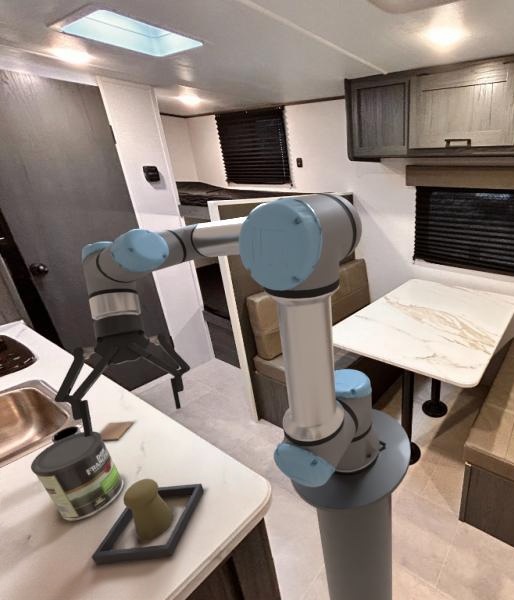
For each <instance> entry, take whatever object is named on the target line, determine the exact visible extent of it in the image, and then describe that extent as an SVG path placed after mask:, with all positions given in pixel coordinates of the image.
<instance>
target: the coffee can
mask: <svg viewBox="0 0 514 600" xmlns="http://www.w3.org/2000/svg"><path fill="white" fill-rule="evenodd" d="M100 433H101V432H100ZM100 433H99V432H98V431H95V430H93V435H91V436H87V437H85V435H84V431H81V433H77V434H74V435H71V436H68V437H66V438H64V439H62V440H59V441H57V442H56V443H52V444H51V445H49V446H48V447H46V448H44V449H43V450H42V451H41V452H39V454H37V455H36V457H34V459H33V460H32V462H31V464H30V470H31V472H32V473H33V474H35V475H36V477H37V478H38V480H39V483H41V485H42V487H43V488H44V490H45V491H46V493H47V494H48V496H49V497H50V499H51V500H52V502H53V504H54V505H55V507H56V508H57V510H58V511H59V513H60V514H61V517H62V519H63V520H65V521H81V520H84V519H86V518H89V517H91V516H93V515H95V514H97V513H99V512H101V511H102V510H104V509H105V508H106V507H108V506H109V505H110V504H111V503H112V502H114V501H115V500H116V499H117V498H118V496H119V495H120V494H121V492H122V490H123V487H124V480H123V478H122V477H121V475H120V473H119V470H118V468H117V466H116V465H115V462H114V461H113V458H112V457H111V454H110V452H109V450H108V448H107V446H106V444H105V441H103V438H102V436H101V434H100Z"/></svg>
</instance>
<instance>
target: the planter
mask: <svg viewBox="0 0 514 600" xmlns="http://www.w3.org/2000/svg"><path fill="white" fill-rule="evenodd" d="M81 432H82V431H81V429H80V427H79V426H76V425H72V426H68V427H65V428H62V429H61V430H58V432H55V434H53V435H52V437H51V442H52V444H54V443H56V442H57V441H59V440H62V439H64V438H66V437H68V436H71V435H74V434H77V433H81Z"/></svg>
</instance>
